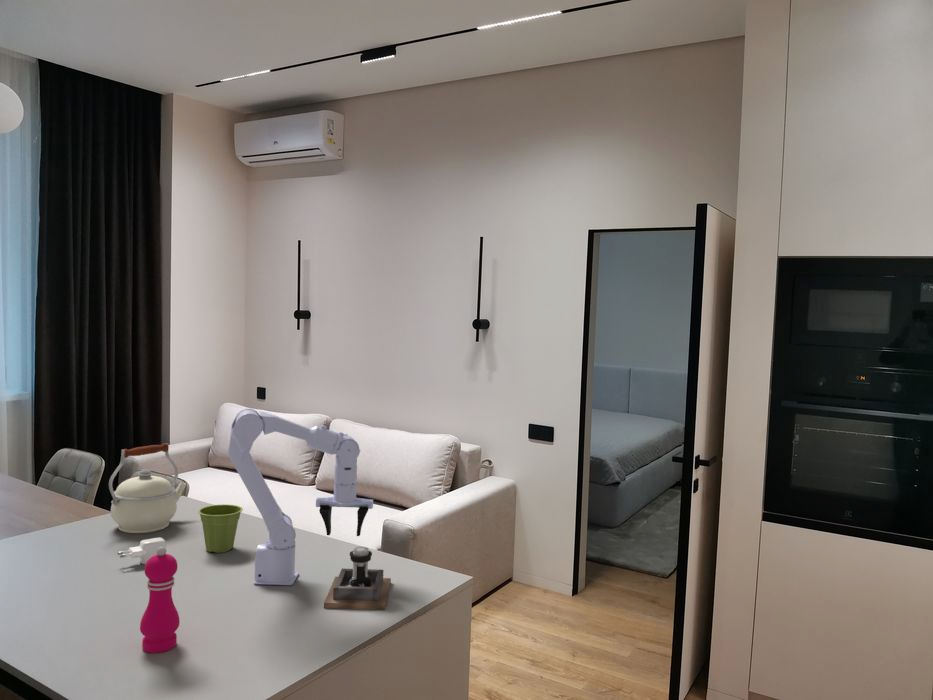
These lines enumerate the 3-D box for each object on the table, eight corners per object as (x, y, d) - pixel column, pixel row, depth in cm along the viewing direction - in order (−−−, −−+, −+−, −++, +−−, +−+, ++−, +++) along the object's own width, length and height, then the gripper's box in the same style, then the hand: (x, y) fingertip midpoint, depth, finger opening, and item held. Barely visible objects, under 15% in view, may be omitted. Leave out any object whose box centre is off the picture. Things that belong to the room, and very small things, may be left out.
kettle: (126, 541, 197) (128, 455, 196) (92, 528, 207) (93, 446, 206) (202, 522, 218) (204, 444, 217) (167, 511, 228) (169, 436, 227)
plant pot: (250, 547, 196) (251, 508, 195) (215, 559, 186) (216, 518, 185) (223, 539, 202) (224, 501, 202) (188, 549, 192) (189, 510, 192)
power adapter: (120, 570, 175) (121, 548, 175) (116, 565, 179) (116, 542, 179) (166, 562, 182) (167, 540, 182) (161, 556, 186) (161, 535, 186)
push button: (348, 597, 162) (350, 555, 161) (339, 589, 166) (341, 548, 166) (374, 591, 165) (375, 550, 165) (364, 584, 170) (366, 544, 169)
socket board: (323, 607, 158) (324, 590, 158) (335, 581, 174) (335, 565, 174) (384, 609, 158) (385, 592, 158) (390, 582, 174) (391, 567, 174)
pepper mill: (147, 637, 141) (149, 540, 140) (184, 637, 141) (186, 541, 140) (133, 654, 133) (135, 553, 132) (172, 654, 134) (174, 553, 133)
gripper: (314, 485, 174) (312, 538, 174) (371, 487, 174) (369, 540, 175) (319, 479, 181) (317, 530, 181) (374, 480, 181) (373, 531, 182)
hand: (343, 534), depth 179 cm, fingers open, 7 cm apart
